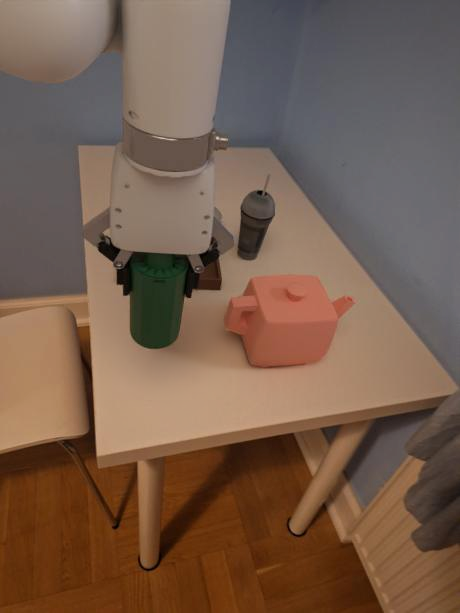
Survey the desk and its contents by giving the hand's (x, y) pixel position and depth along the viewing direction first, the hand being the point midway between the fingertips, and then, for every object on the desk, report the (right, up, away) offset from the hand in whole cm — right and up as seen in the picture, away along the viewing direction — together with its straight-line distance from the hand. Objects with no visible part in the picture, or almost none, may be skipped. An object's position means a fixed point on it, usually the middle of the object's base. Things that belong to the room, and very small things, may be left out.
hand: (157, 287), depth 48 cm
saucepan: (0, +19, +50) cm, 54 cm away
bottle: (-1, -5, +5) cm, 8 cm away
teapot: (+17, -9, +26) cm, 33 cm away
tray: (-3, +6, +37) cm, 37 cm away
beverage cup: (+12, +9, +43) cm, 46 cm away
